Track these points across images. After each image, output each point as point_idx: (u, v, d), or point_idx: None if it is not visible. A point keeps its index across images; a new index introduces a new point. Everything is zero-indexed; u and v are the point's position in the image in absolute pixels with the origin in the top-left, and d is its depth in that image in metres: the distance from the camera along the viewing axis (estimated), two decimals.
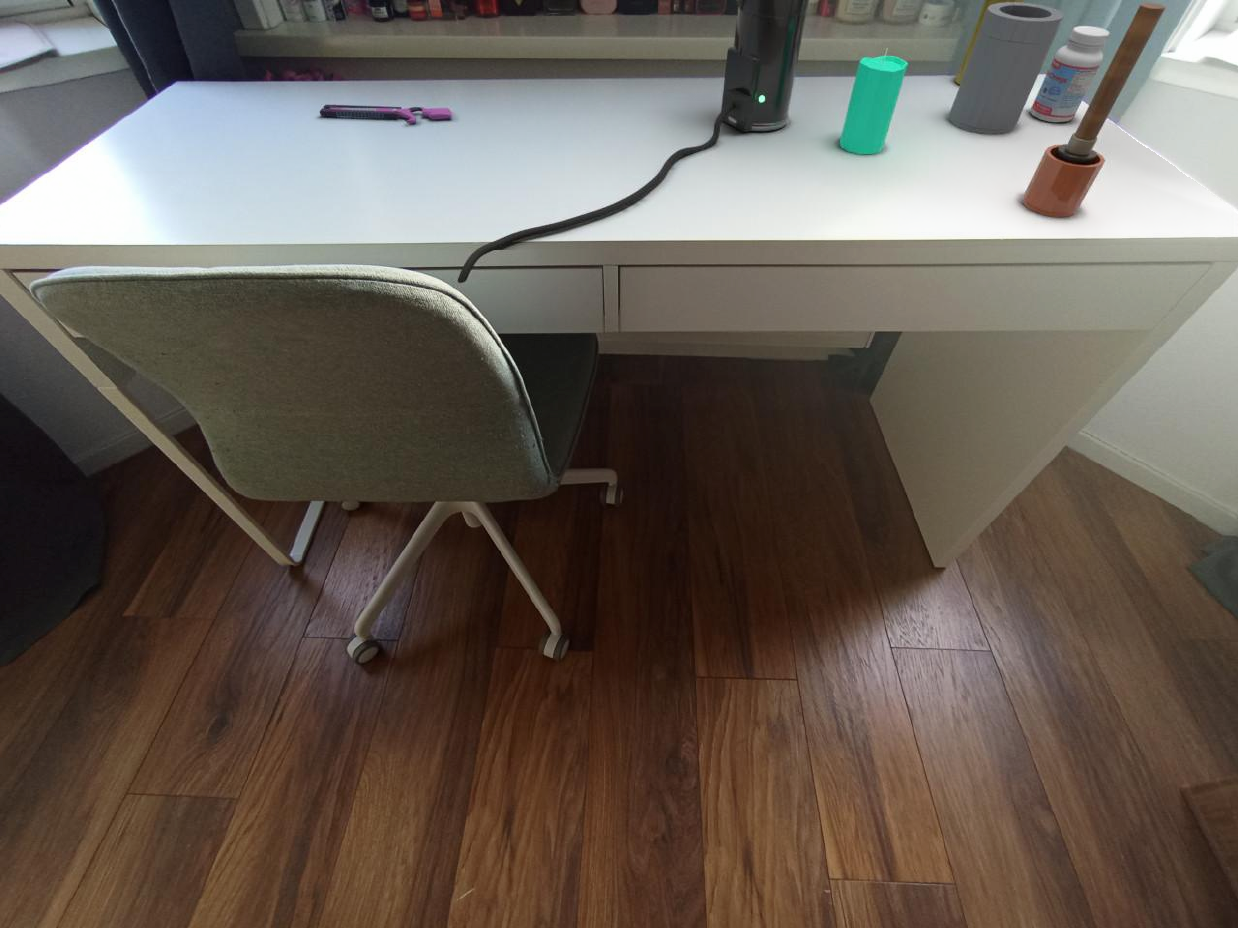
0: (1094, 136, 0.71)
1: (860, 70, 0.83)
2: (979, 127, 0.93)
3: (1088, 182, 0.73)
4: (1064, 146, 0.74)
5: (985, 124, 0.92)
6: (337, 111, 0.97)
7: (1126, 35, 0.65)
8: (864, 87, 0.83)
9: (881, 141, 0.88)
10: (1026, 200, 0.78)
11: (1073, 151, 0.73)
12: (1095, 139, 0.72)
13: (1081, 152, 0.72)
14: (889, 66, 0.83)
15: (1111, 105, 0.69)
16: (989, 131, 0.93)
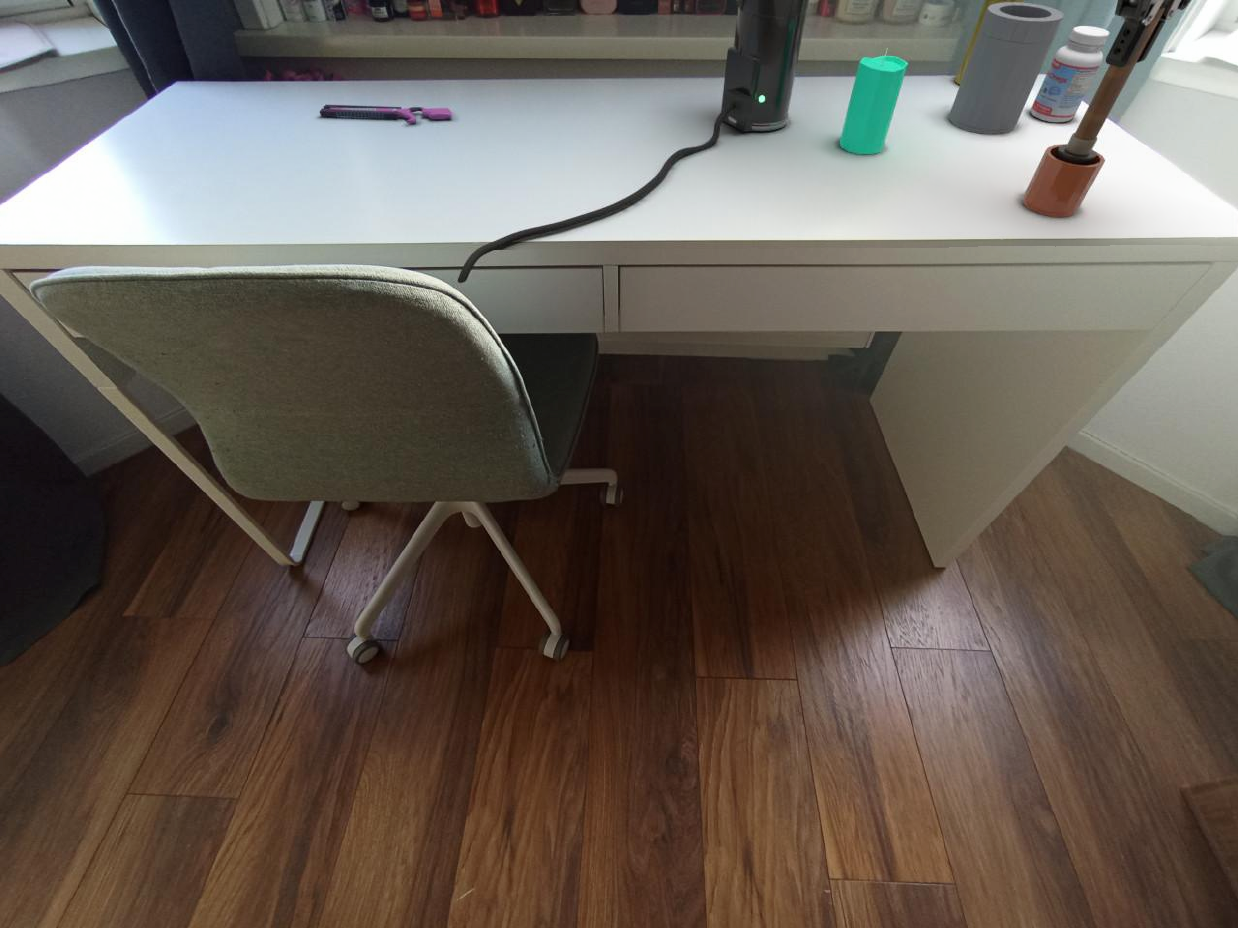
0: (1094, 136, 0.71)
1: (860, 70, 0.83)
2: (979, 127, 0.93)
3: (1088, 182, 0.73)
4: (1064, 146, 0.74)
5: (985, 124, 0.92)
6: (337, 111, 0.97)
7: None
8: (864, 87, 0.83)
9: (881, 141, 0.88)
10: (1026, 200, 0.78)
11: (1073, 151, 0.73)
12: (1095, 139, 0.72)
13: (1081, 152, 0.72)
14: (889, 66, 0.83)
15: (1111, 105, 0.69)
16: (989, 131, 0.93)
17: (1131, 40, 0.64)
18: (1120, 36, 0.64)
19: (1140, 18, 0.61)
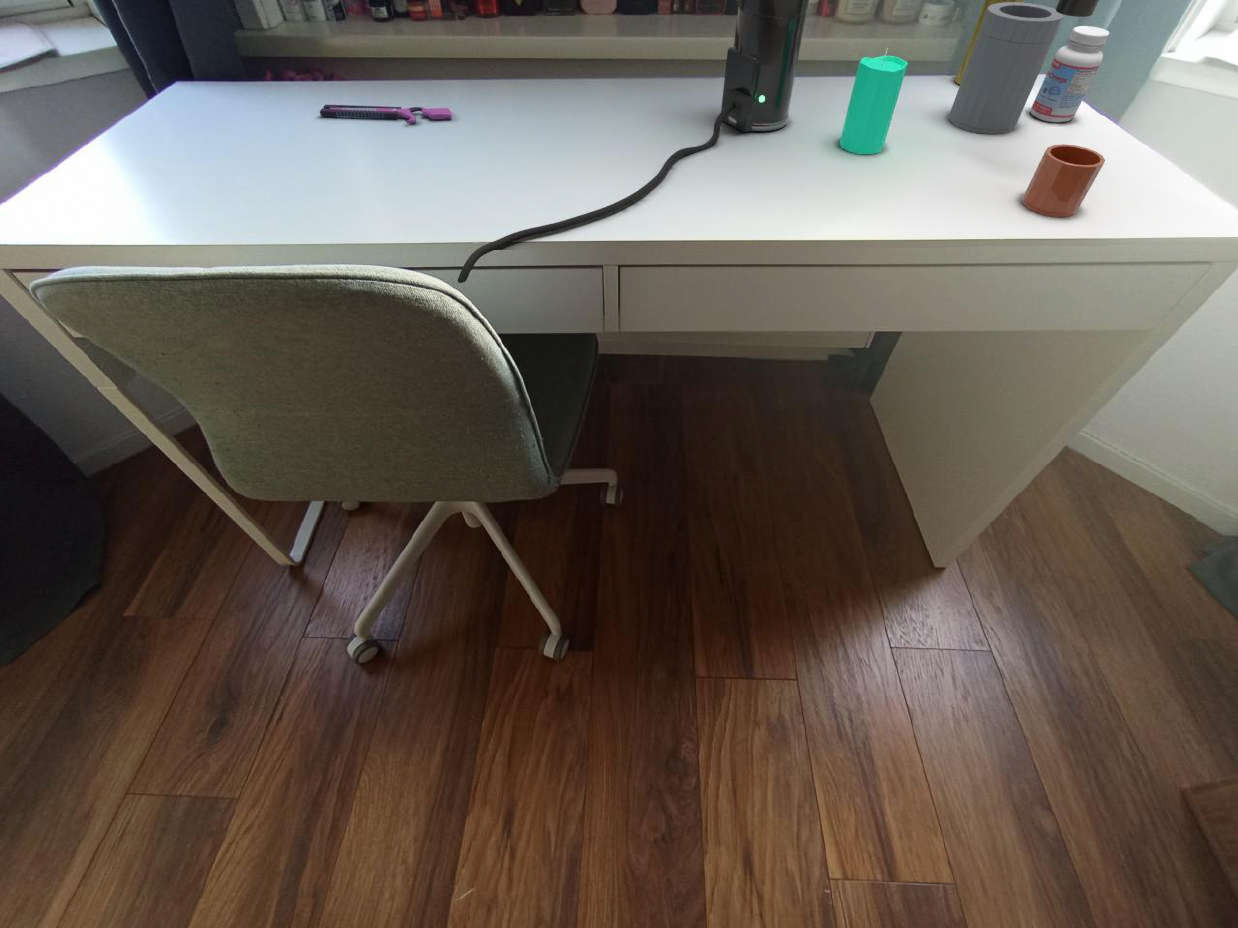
0: None
1: (860, 70, 0.83)
2: (979, 127, 0.93)
3: (1088, 182, 0.73)
4: None
5: (985, 124, 0.92)
6: (337, 111, 0.97)
7: None
8: (864, 87, 0.83)
9: (881, 141, 0.88)
10: (1026, 200, 0.78)
11: None
12: None
13: None
14: (889, 66, 0.83)
15: None
16: (989, 131, 0.93)
17: None
18: None
19: None
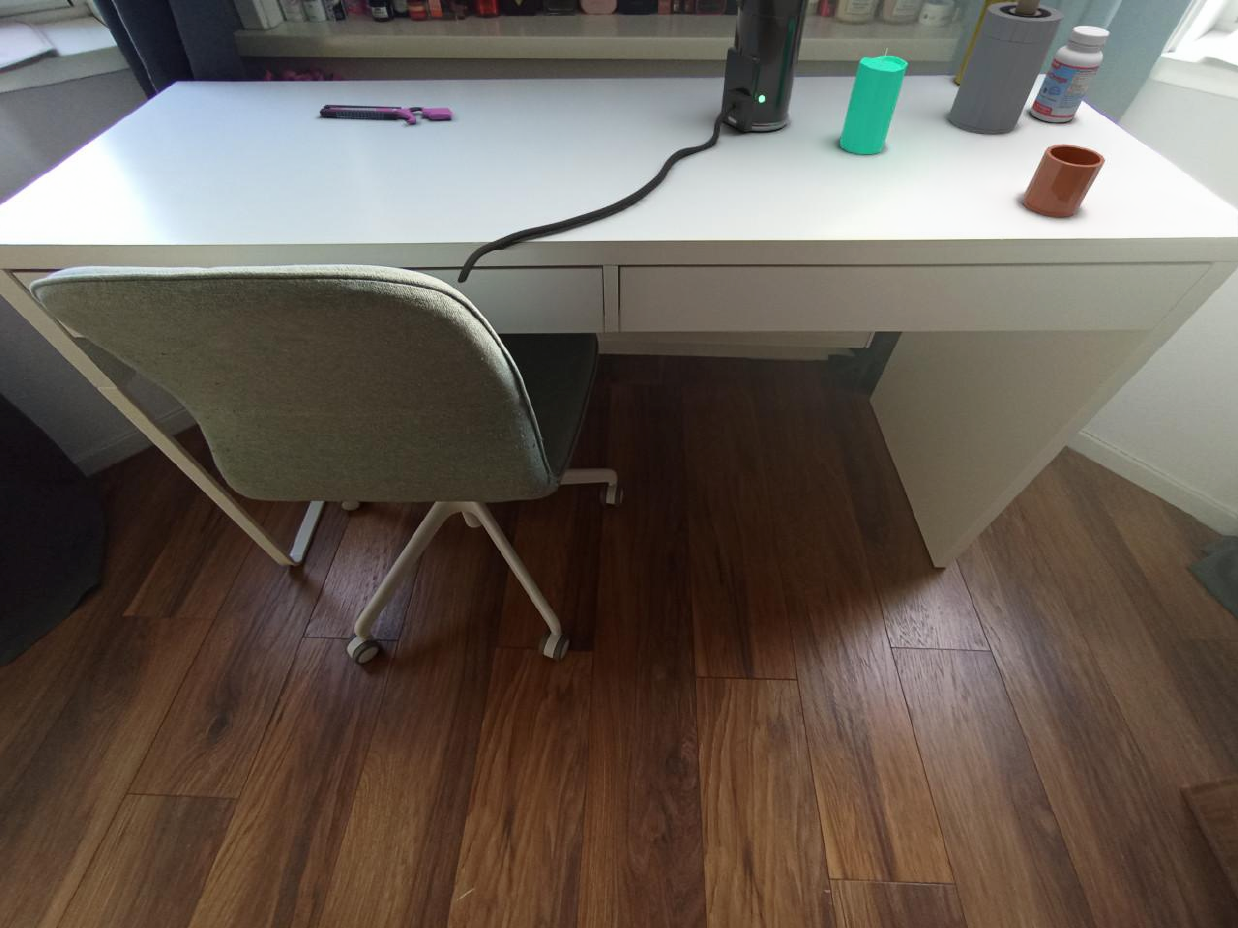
0: None
1: (860, 70, 0.83)
2: (979, 127, 0.93)
3: (1088, 182, 0.73)
4: (1014, 9, 0.86)
5: (985, 124, 0.92)
6: (337, 111, 0.97)
7: None
8: (864, 87, 0.83)
9: (881, 141, 0.88)
10: (1026, 200, 0.78)
11: (1021, 11, 0.85)
12: None
13: (1028, 11, 0.85)
14: (889, 66, 0.83)
15: None
16: (989, 131, 0.93)
17: None
18: None
19: None
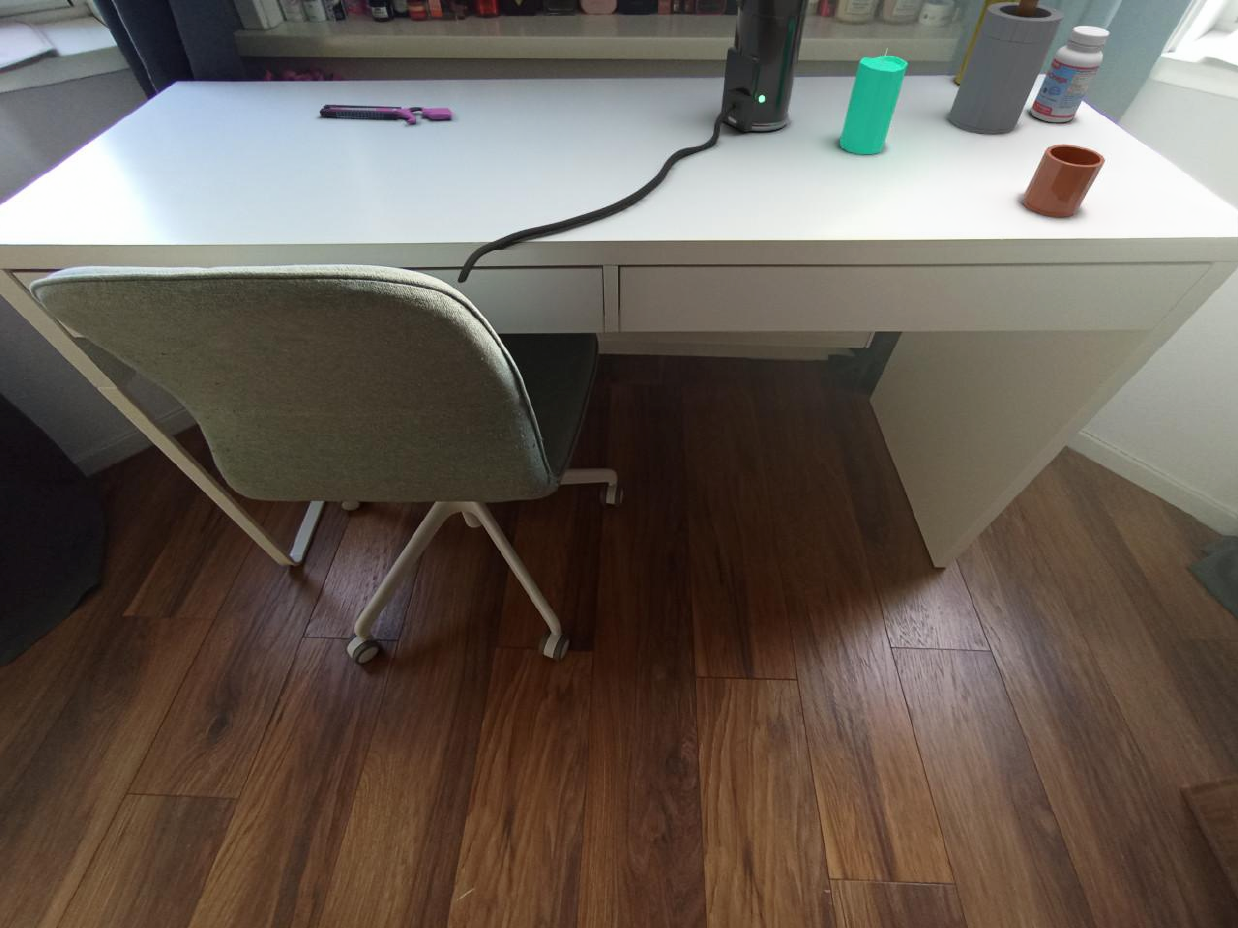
0: None
1: (860, 70, 0.83)
2: (979, 127, 0.93)
3: (1088, 182, 0.73)
4: None
5: (985, 124, 0.92)
6: (337, 111, 0.97)
7: None
8: (864, 87, 0.83)
9: (881, 141, 0.88)
10: (1026, 200, 0.78)
11: None
12: None
13: None
14: (889, 66, 0.83)
15: None
16: (989, 131, 0.93)
17: None
18: None
19: None
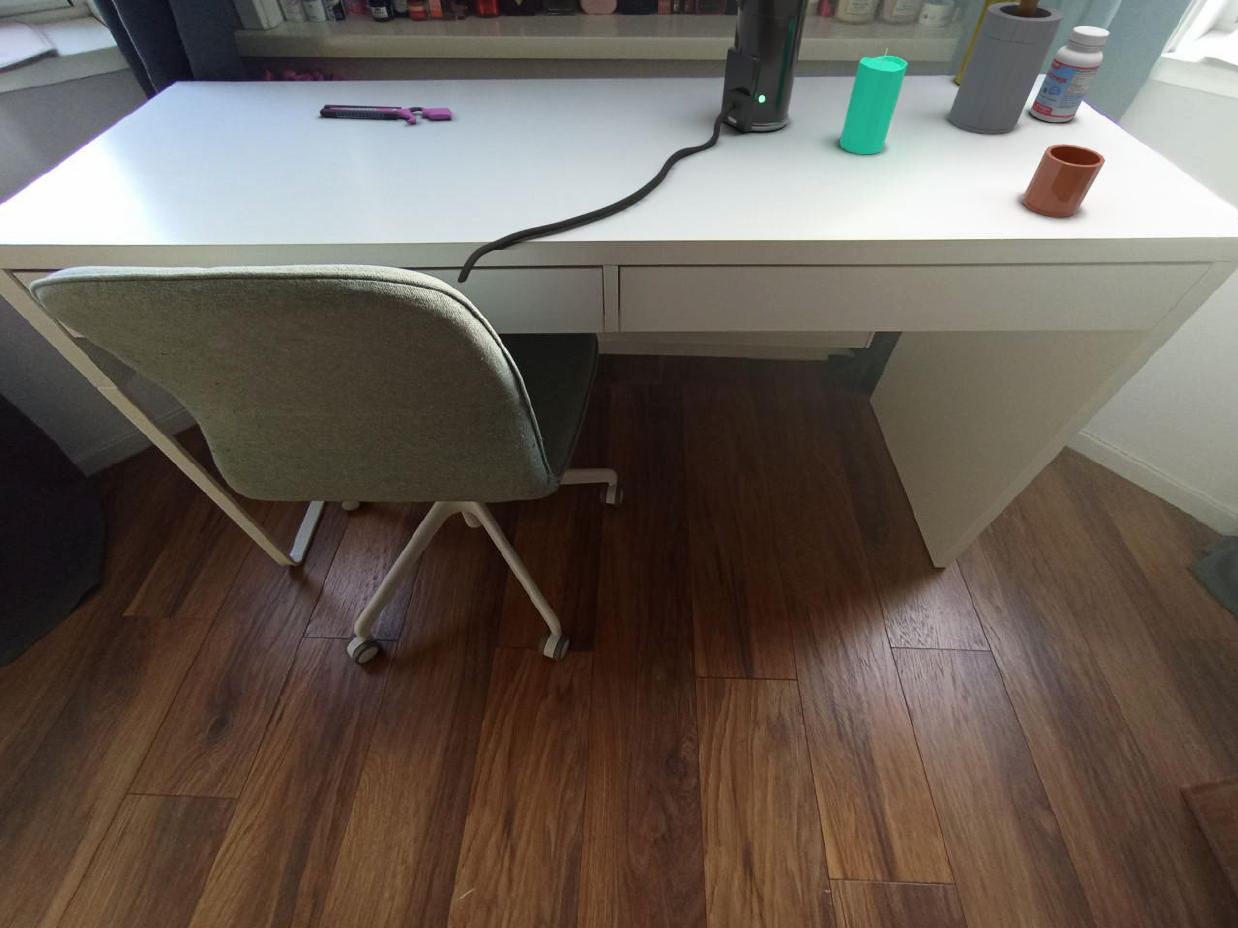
0: None
1: (860, 70, 0.83)
2: (979, 127, 0.93)
3: (1088, 182, 0.73)
4: None
5: (985, 124, 0.92)
6: (337, 111, 0.97)
7: None
8: (864, 87, 0.83)
9: (881, 141, 0.88)
10: (1026, 200, 0.78)
11: None
12: None
13: None
14: (889, 66, 0.83)
15: None
16: (989, 131, 0.93)
17: None
18: None
19: None
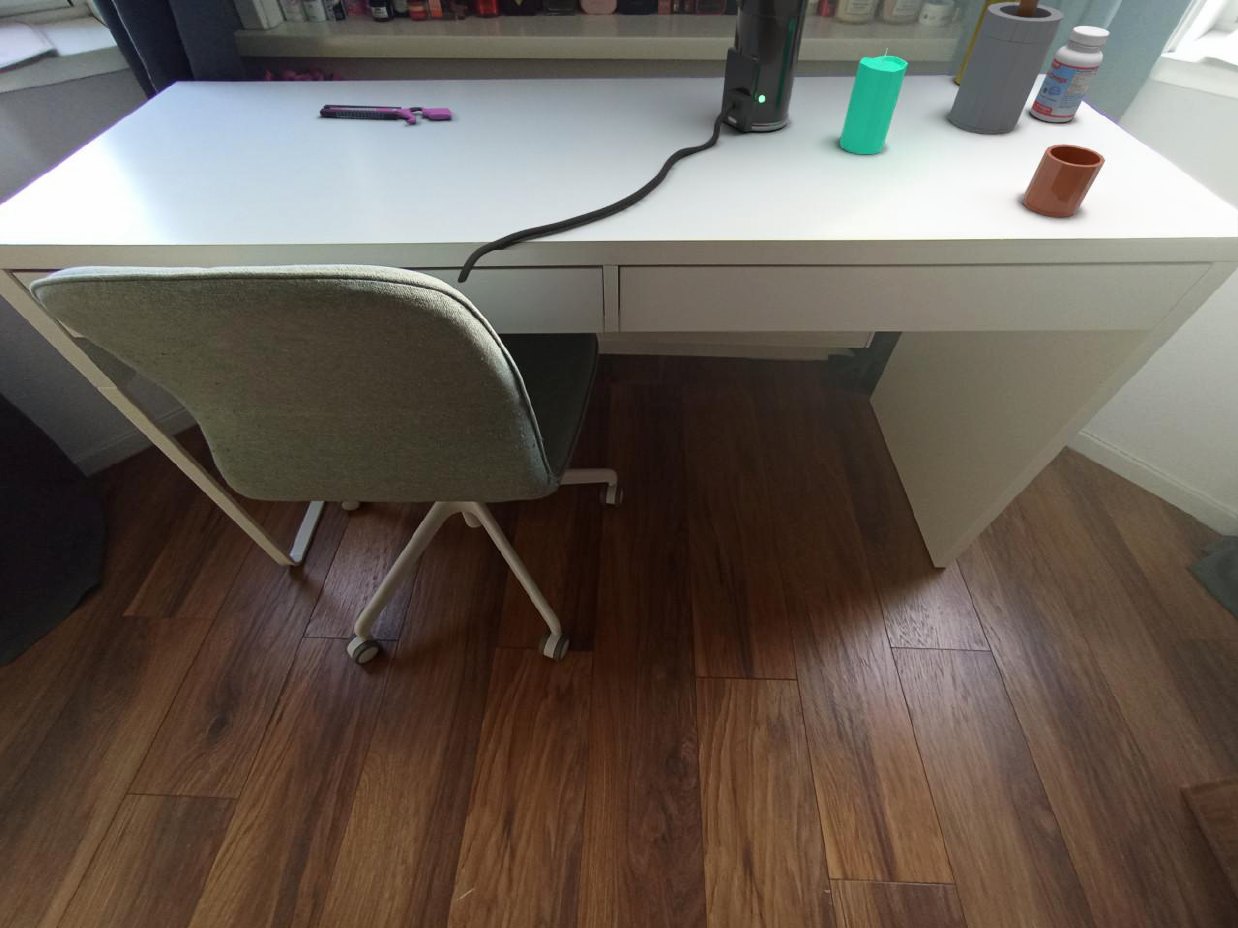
0: None
1: (860, 70, 0.83)
2: (979, 127, 0.93)
3: (1088, 182, 0.73)
4: None
5: (985, 124, 0.92)
6: (337, 111, 0.97)
7: None
8: (864, 87, 0.83)
9: (881, 141, 0.88)
10: (1026, 200, 0.78)
11: None
12: None
13: None
14: (889, 66, 0.83)
15: None
16: (989, 131, 0.93)
17: None
18: None
19: None
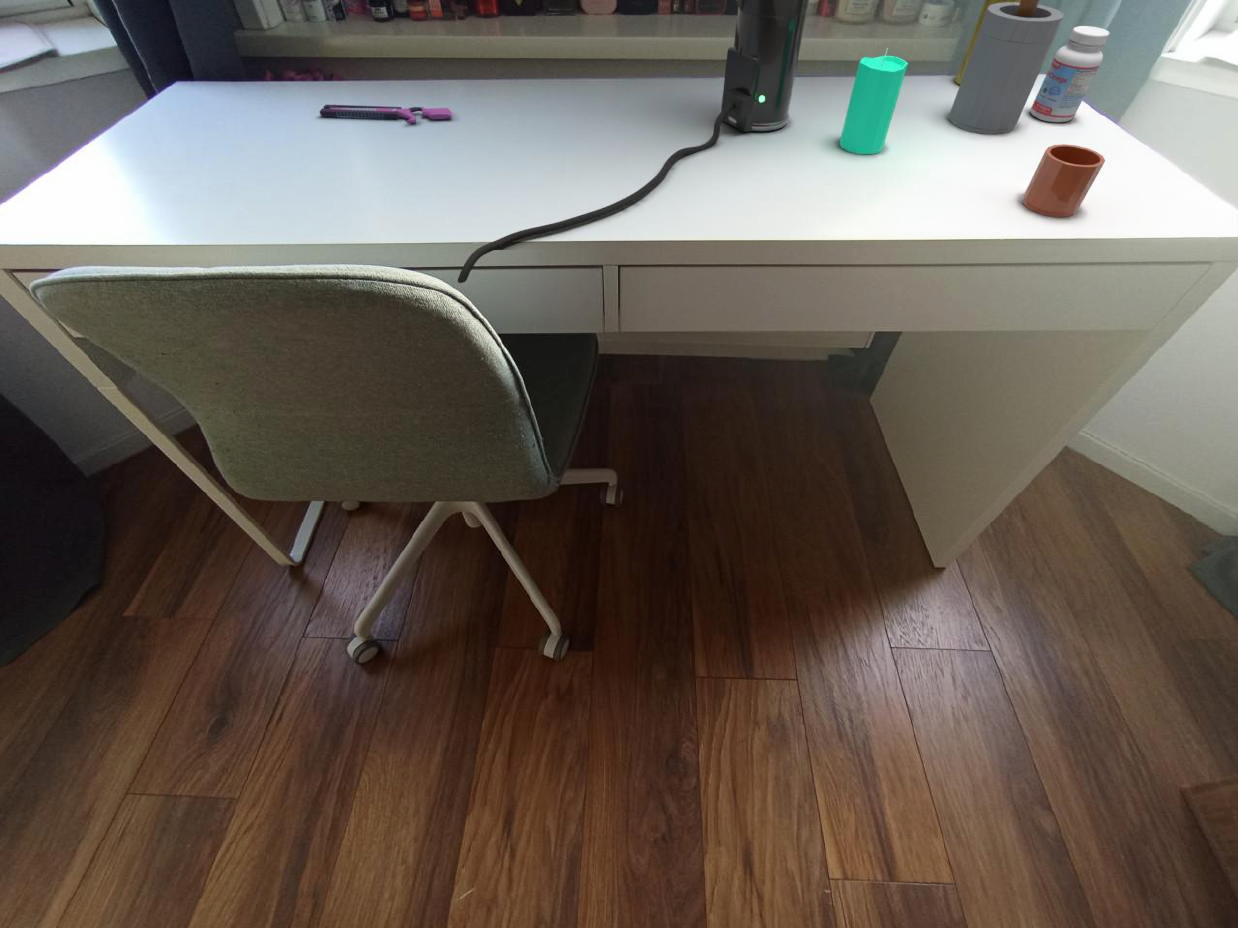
0: None
1: (860, 70, 0.83)
2: (979, 127, 0.93)
3: (1088, 182, 0.73)
4: None
5: (985, 124, 0.92)
6: (337, 111, 0.97)
7: None
8: (864, 87, 0.83)
9: (881, 141, 0.88)
10: (1026, 200, 0.78)
11: None
12: None
13: None
14: (889, 66, 0.83)
15: None
16: (989, 131, 0.93)
17: None
18: None
19: None
